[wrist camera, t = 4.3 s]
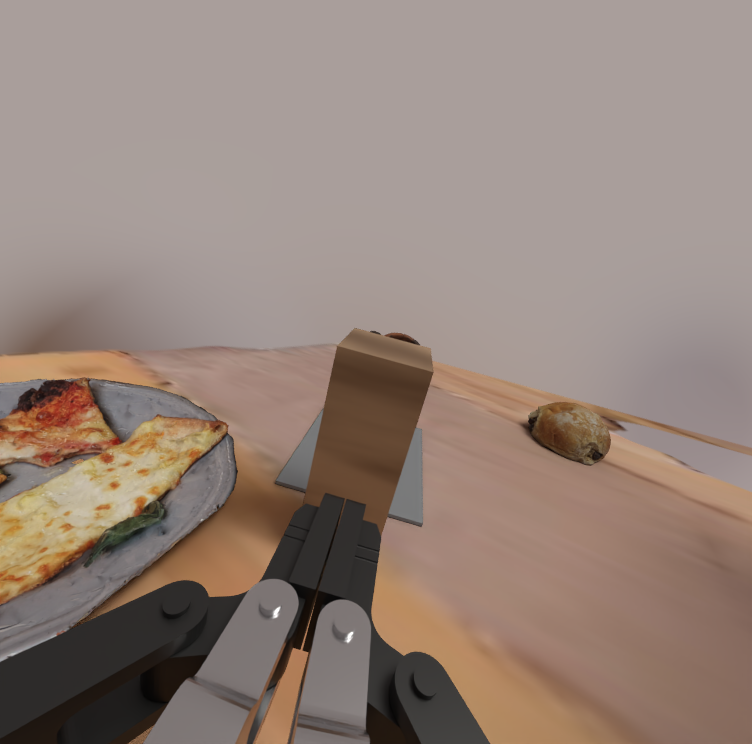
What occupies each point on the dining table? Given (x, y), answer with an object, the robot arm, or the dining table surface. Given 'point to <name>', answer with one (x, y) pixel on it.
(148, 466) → the food plate
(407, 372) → the walnut block
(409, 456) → the rubber mat
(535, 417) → the bread roll
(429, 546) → the dining table surface
